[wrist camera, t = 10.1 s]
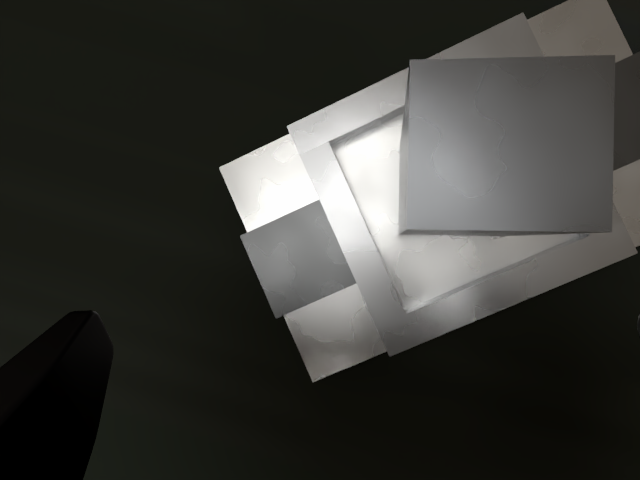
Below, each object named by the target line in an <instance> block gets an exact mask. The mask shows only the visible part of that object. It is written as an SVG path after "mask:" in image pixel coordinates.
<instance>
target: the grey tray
mask: <svg viewBox="0 0 640 480" xmlns="http://www.w3.org/2000/svg"><path fill="white" fill-rule="evenodd" d="M590 55H615V98H614V154H613V210H612V232H608V233H581V234H554V235H527V236H451V235H398V218H399V161H400V139H401V130H402V122H403V113H404V105H405V97H406V88H407V80H408V71H409V68H407V69H405V70H403V71H400V72H398V73H396V74H394V75H392V76H390V77H388V78H386V79H384V80H382V81H380V82H378V83H376V84H373V85H371V86H369V87H367V88H365V89H363V90H361V91H359V92H357V93H355V94H353V95H351V96H349V97H346V98H344V99H342V100H340V101H338V102H336V103H334V104H332V105H330V106H328V107H326V108H324V109H322V110H319V111H317V112H315V113H313V114H311V115H309V116H307V117H305V118H303V119H301V120H299V121H297V122H295V123H292V124H290V125H288V126H287V128H288V130H289V133H290V134H288V135H286V136H284V137H282V138H280V139H278V140H276V141H274V142H272V143H269V144H267V145H265V146H263V147H261V148H259V149H257V150H255V151H253V152H251V153H249V154H246V155H244V156H242V157H240V158H238V159H236V160H234V161H232V162H230V163H228V164H226V165H224V166H221V167H219V169H220V171H221V173H222V176H223V178H224V180H225V183H226V185H227V187H228V189H229V192H230V194H231V196H232V199H233V201H234V203H235V205H236V208H237V210H238V212H239V215H240V217H241V219H242V221H243V224H244V226H245V228H246V231H247V233H245V234H243V235H241V236H240V237H241V240H242V242H243V244H244V247H245V249H246V251H247V253H248V256H249V258H250V260H251V263H252V265H253V267H254V270H255V272H256V274H257V276H258V279H259V281H260V283H261V286H262V288H263V290H264V292H265V295H266V297H267V299H268V302H269V304H270V306H271V309H272V311H273V313H274V315H275V318H278V317H281V316H283V315H284V318H285V320H286V322H287V324H288V327H289V329H290V331H291V334H292V336H293V338H294V341H295V343H296V345H297V347H298V350H299V352H300V354H301V357H302V359H303V361H304V363H305V366H306V368H307V370H308V373H309V375H310V377H311V379H312V382H315V381H317V380H320V379H322V378H325V377H327V376H329V375H332V374H334V373H336V372H339V371H341V370H344V369H346V368H348V367H351V366H353V365H356V364H358V363H360V362H363V361H365V360H367V359H370V358H372V357H375V356H377V355H379V354H382V353H384V352H388V355H389V357H390V356H393V355H395V354H397V353H400V352H402V351H405V350H407V349H409V348H412V347H414V346H417V345H419V344H421V343H424V342H426V341H429V340H431V339H433V338H436V337H438V336H441V335H443V334H445V333H448V332H450V331H452V330H455V329H457V328H460V327H462V326H464V325H467V324H469V323H472V322H474V321H476V320H479V319H481V318H484V317H486V316H488V315H491V314H493V313H496V312H498V311H500V310H503V309H505V308H508V307H510V306H512V305H515V304H517V303H520V302H522V301H524V300H527V299H529V298H531V297H534V296H536V295H539V294H541V293H543V292H546V291H548V290H551V289H553V288H555V287H558V286H560V285H563V284H565V283H567V282H570V281H572V280H575V279H577V278H579V277H582V276H584V275H587V274H589V273H591V272H594V271H596V270H598V269H601V268H603V267H606V266H608V265H610V264H613V263H615V262H618V261H620V260H622V259H625V258H627V257H630V256H632V255H634V254H637V253H638V252H637V250H636V248H635V247H637V246H639V245H640V52H638V53H636V54H634V55H633V54H632V52H631V50H630V47H629V45H628V43H627V41H626V39H625V37H624V35H623V33H622V31H621V29H620V27H619V25H618V23H617V21H616V19H615V17H614V15H613V13H612V10H611V8H610V6H609V4H608V2H607V0H568V1H566V2H564V3H562V4H560V5H557V6H555V7H553V8H551V9H549V10H547V11H545V12H543V13H541V14H539V15H537V16H534V17H532V18H530V19H528V20H527V19H526V17H525V15H524V13H521V14H519V15H517V16H515V17H513V18H511V19H509V20H506V21H504V22H502V23H500V24H498V25H496V26H494V27H492V28H490V29H488V30H486V31H484V32H482V33H479V34H477V35H475V36H473V37H471V38H469V39H467V40H465V41H463V42H461V43H459V44H457V45H455V46H452V47H450V48H448V49H446V50H444V51H442V52H440V53H438V54H436V55H434V56H432V57H430V58H428V59H463V58H505V57H547V56H590Z"/></svg>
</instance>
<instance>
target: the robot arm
mask: <svg viewBox="0 0 640 480" xmlns="http://www.w3.org/2000/svg"><path fill="white" fill-rule="evenodd" d="M637 328H638V333H639V337H640V314H639V317H638V322H637ZM112 359H113V344H112V341H111V339H110V337H109V335H108V333H107V331H106V329H105V326H104V324H103V322H102V320H101V318H100V316H99V314H98V313H96V312H95V311H92V310H89V311H73V312H70V313H68V314H67V315H65V316H64V317H63V318H62V319H60V320H59V321H58V322H57V323H55V324H54V325H53V326H52V327H50V328H49V329H48V330H47V331H45V332H44V333H43V334H42V335H40V336H39V337H38V338H37V339H35V340H34V341H33V342H32V343H30V344H29V345H28V346H27V347H25V348H24V349H23V350H22V351H20V352H19V353H18V354H17V355H15V356H14V357H13V358H12V359H10V360H9V361H8V362H7V363H5V364H4V365H3V366H2V367H0V480H83V478H84V474H85V471H86V468H87V465H88V462H89V459H90V456H91V453H92V450H93V446H94V443H95V439H96V435H97V431H98V427H99V422H100V418H101V413H102V408H103V403H104V398H105V393H106V389H107V384H108V379H109V374H110V369H111V364H112Z"/></svg>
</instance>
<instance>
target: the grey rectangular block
mask: <svg viewBox="0 0 640 480" xmlns="http://www.w3.org/2000/svg"><path fill="white" fill-rule="evenodd" d="M614 98H615V55H590V56H547V57H505V58H463V59H421V60H410V63H409V71H408V80H407V88H406V97H405V105H404V113H403V122H402V130H401V139H400V161H399V218H398V235H451V236H527V235H554V234H581V233H608V232H612V210H613V154H614Z"/></svg>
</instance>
